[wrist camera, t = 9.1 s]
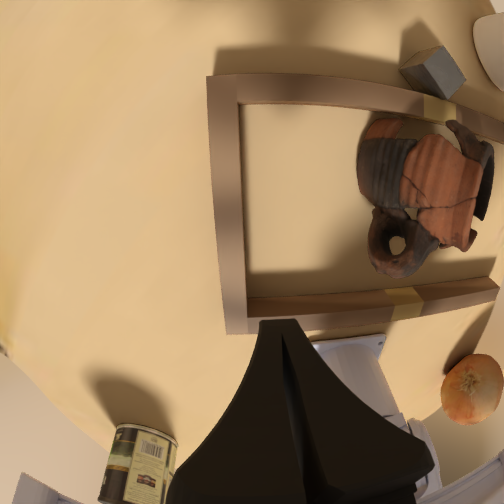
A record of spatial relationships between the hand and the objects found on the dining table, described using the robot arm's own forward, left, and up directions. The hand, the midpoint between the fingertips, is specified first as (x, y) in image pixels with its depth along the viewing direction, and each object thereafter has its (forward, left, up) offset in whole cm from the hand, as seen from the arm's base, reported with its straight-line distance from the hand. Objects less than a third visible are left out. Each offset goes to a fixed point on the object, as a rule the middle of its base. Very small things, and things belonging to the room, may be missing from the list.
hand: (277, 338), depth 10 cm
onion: (-20, -28, -10) cm, 36 cm away
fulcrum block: (+12, -12, -10) cm, 20 cm away
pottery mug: (+4, -11, -10) cm, 15 cm away
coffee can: (-33, +18, -10) cm, 39 cm away
